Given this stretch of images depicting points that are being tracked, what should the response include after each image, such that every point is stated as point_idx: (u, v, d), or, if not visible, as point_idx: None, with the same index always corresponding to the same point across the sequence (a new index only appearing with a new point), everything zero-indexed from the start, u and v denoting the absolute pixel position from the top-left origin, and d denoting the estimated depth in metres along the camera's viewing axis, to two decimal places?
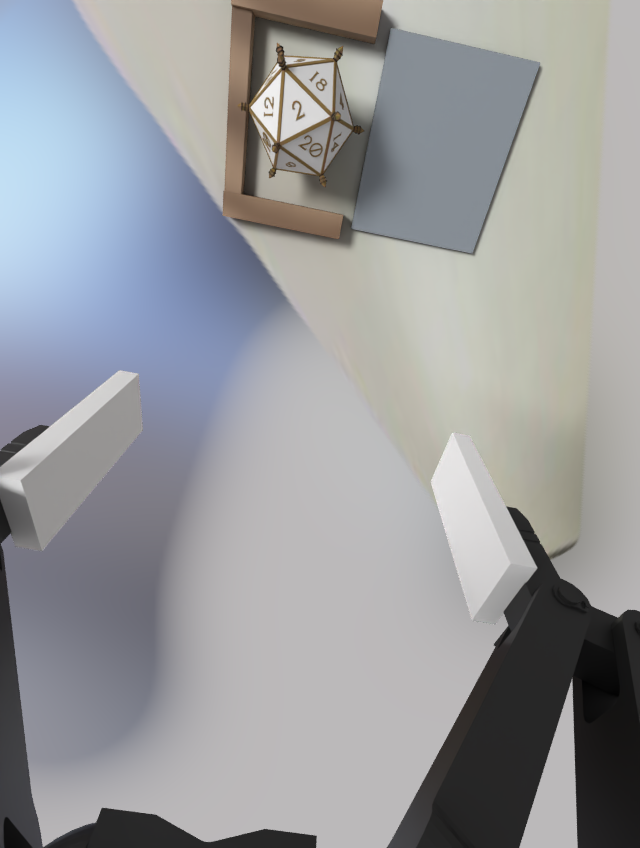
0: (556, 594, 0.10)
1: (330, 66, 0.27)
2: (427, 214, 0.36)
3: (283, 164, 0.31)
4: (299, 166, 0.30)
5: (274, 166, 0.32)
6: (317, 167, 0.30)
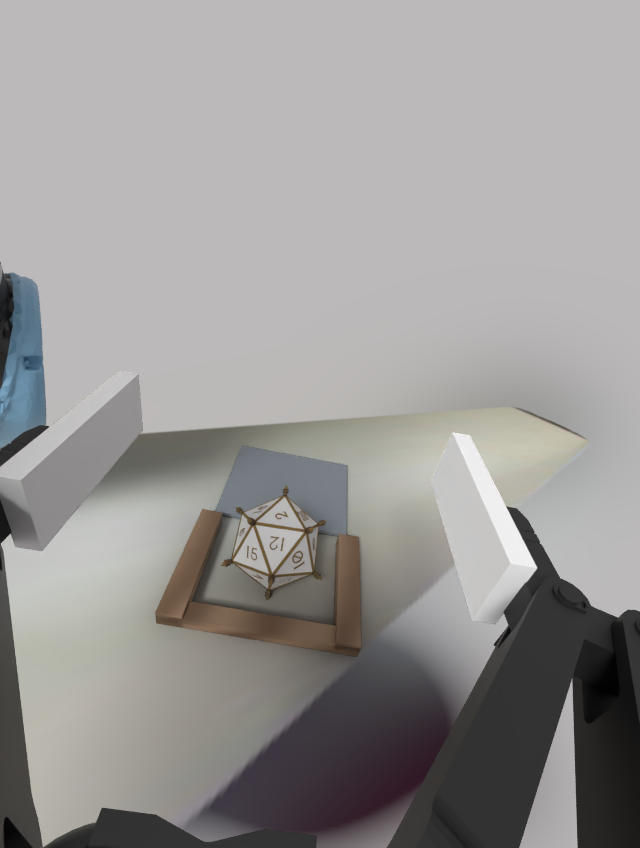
0: (556, 594, 0.10)
1: (247, 511, 0.34)
2: (327, 488, 0.46)
3: (313, 553, 0.33)
4: (314, 537, 0.34)
5: (313, 568, 0.32)
6: (314, 522, 0.35)
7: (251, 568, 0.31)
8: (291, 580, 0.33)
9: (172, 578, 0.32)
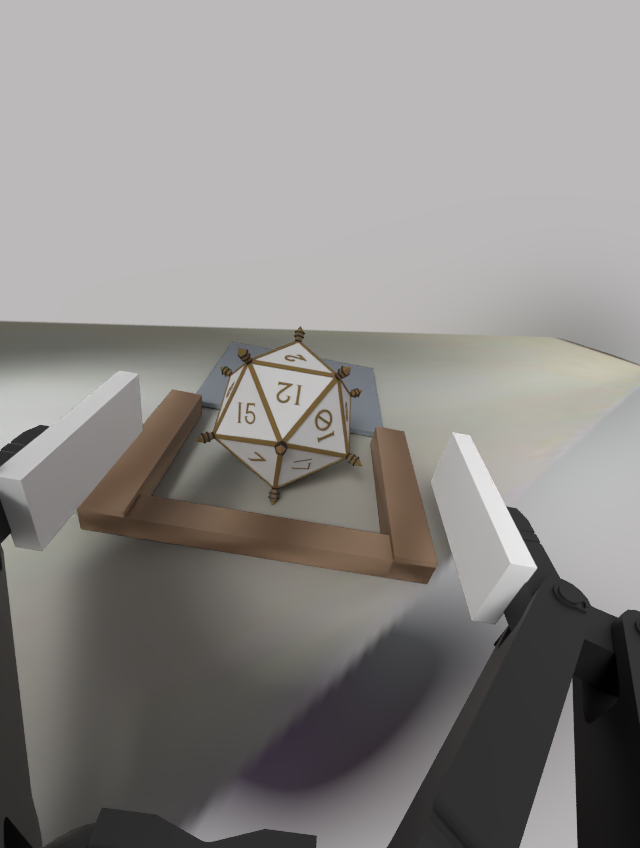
0: (556, 594, 0.10)
1: None
2: (349, 387, 0.34)
3: (346, 424, 0.20)
4: (346, 404, 0.21)
5: (347, 447, 0.20)
6: None
7: (246, 439, 0.18)
8: (311, 468, 0.20)
9: None
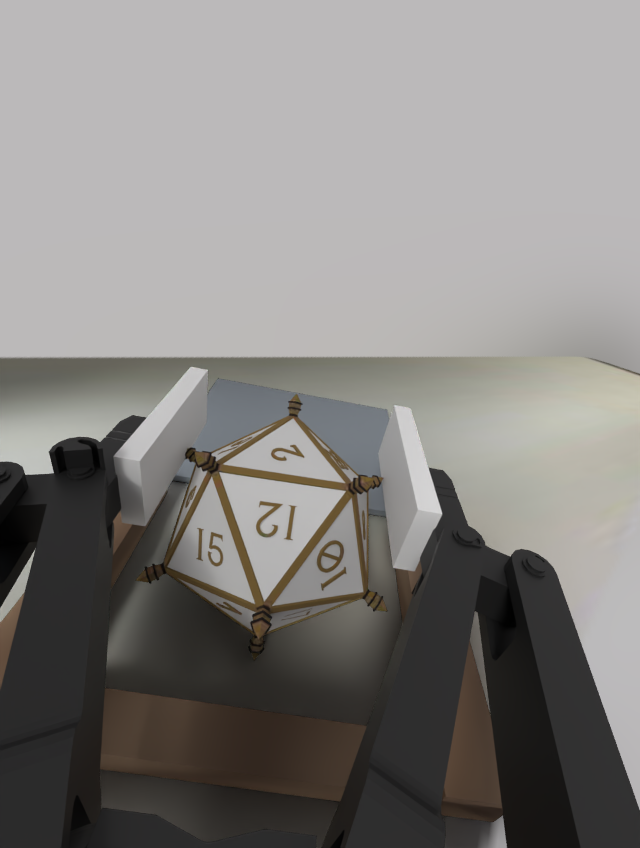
0: (455, 537, 0.11)
1: None
2: (360, 440, 0.27)
3: (363, 546, 0.14)
4: (363, 510, 0.14)
5: (365, 583, 0.13)
6: None
7: (209, 588, 0.12)
8: (312, 613, 0.13)
9: (10, 615, 0.12)
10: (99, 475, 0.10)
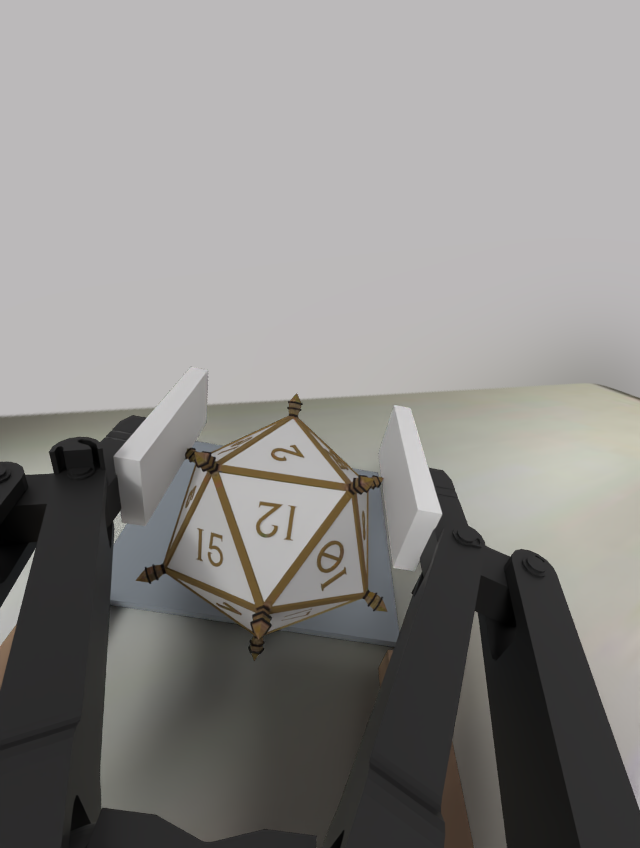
0: (456, 537, 0.11)
1: None
2: None
3: (363, 547, 0.14)
4: (363, 510, 0.14)
5: (365, 583, 0.13)
6: None
7: (209, 588, 0.12)
8: (312, 614, 0.13)
9: None
10: (99, 475, 0.10)
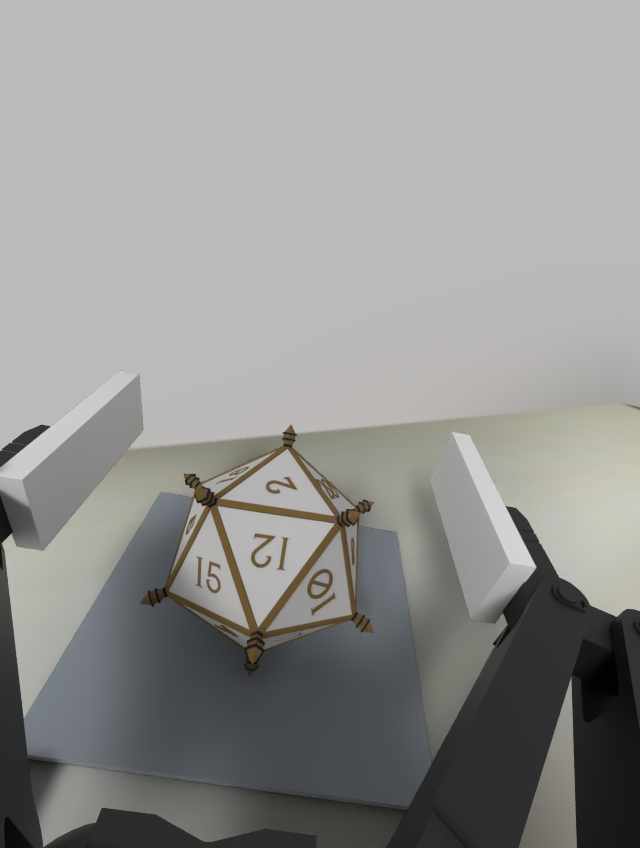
0: (555, 593, 0.10)
1: (208, 482, 0.16)
2: (359, 609, 0.18)
3: (352, 572, 0.14)
4: (353, 535, 0.15)
5: (354, 606, 0.14)
6: (349, 504, 0.16)
7: (207, 612, 0.13)
8: (304, 634, 0.14)
9: None
10: None
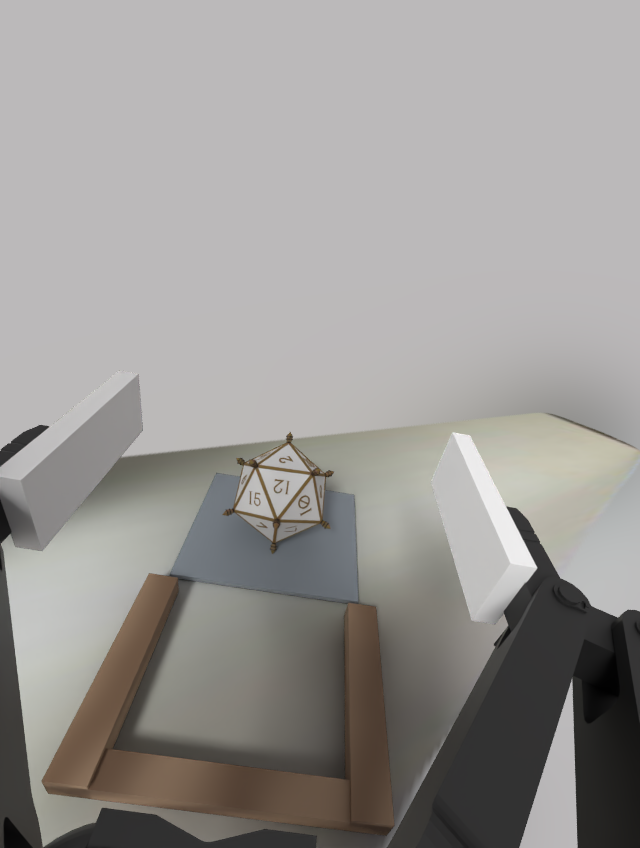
0: (556, 594, 0.10)
1: None
2: (328, 529, 0.34)
3: (320, 501, 0.30)
4: (321, 485, 0.31)
5: (321, 516, 0.30)
6: (320, 471, 0.32)
7: (254, 515, 0.29)
8: (298, 530, 0.30)
9: (83, 705, 0.20)
10: None
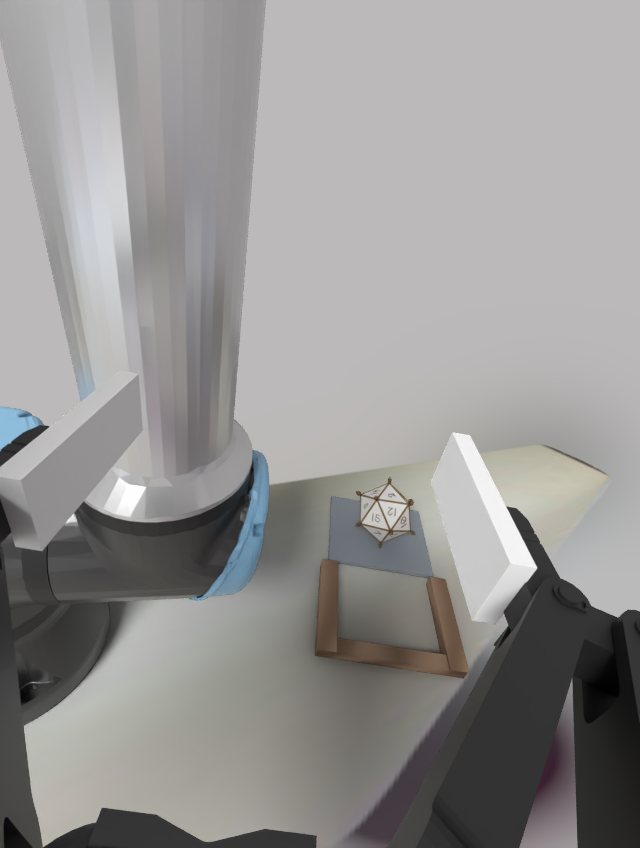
0: (556, 594, 0.10)
1: (365, 493, 0.54)
2: (408, 534, 0.56)
3: None
4: None
5: (410, 528, 0.52)
6: (406, 500, 0.54)
7: (375, 527, 0.51)
8: (396, 535, 0.52)
9: (320, 619, 0.42)
10: None
